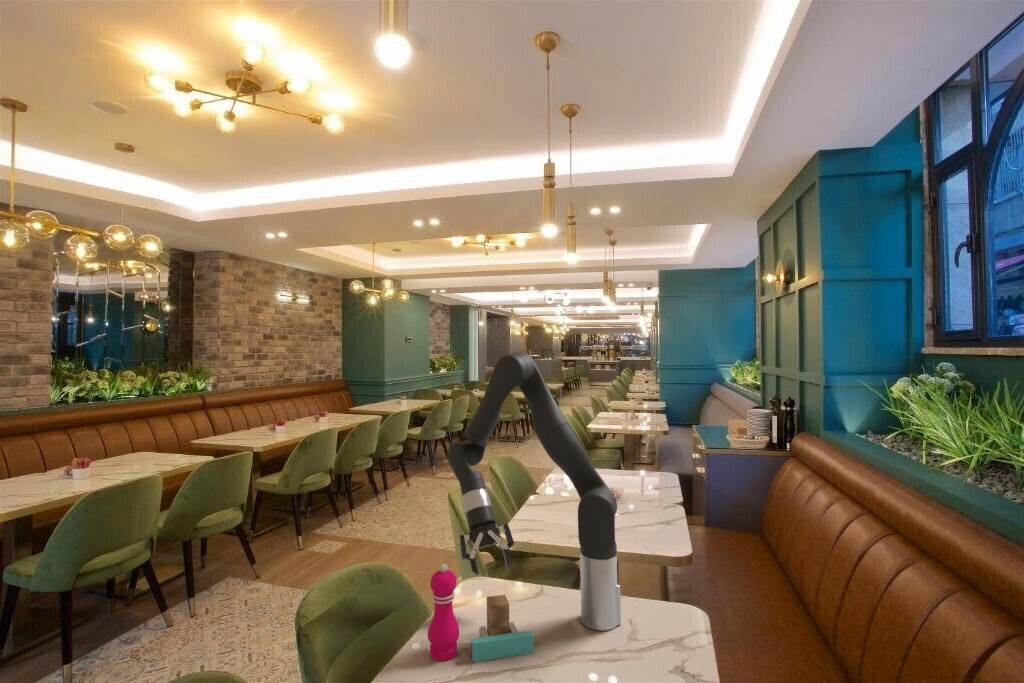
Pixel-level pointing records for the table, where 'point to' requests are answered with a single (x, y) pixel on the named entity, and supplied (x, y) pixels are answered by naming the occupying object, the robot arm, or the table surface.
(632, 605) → the table surface
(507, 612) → the peg
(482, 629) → the frame
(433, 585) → the pepper mill
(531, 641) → the wall
